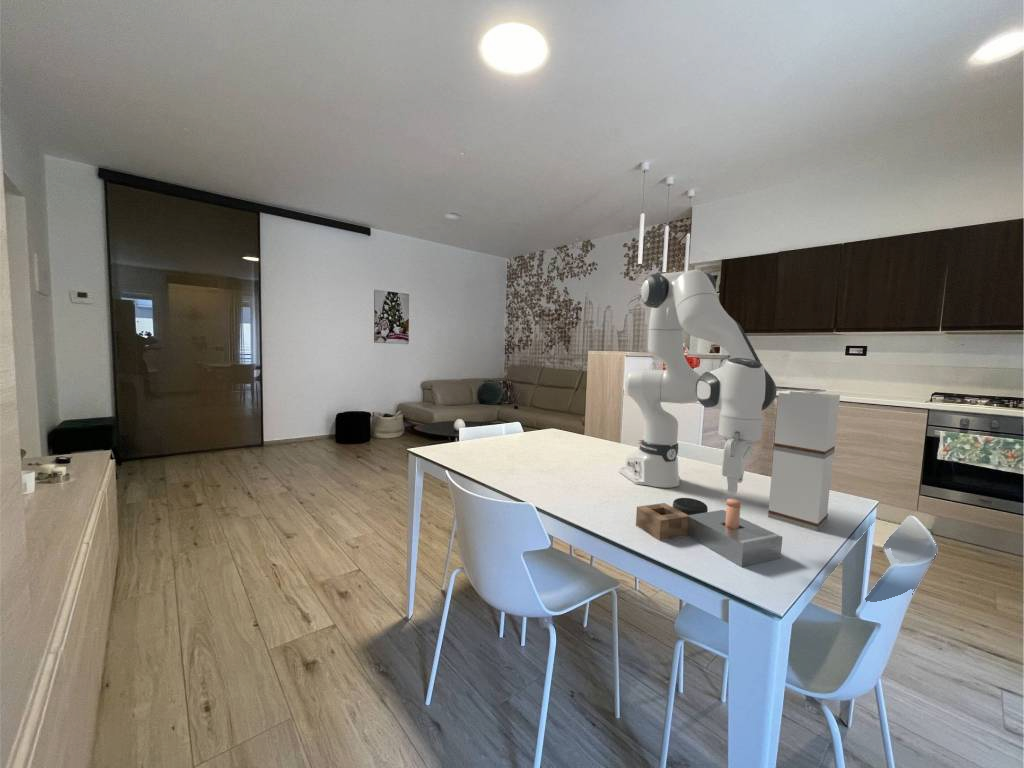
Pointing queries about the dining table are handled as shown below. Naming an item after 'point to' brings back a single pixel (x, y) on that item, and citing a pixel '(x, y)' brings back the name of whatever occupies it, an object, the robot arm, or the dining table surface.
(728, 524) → the pin
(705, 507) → the smart speaker
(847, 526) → the dining table surface
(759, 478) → the dining table surface
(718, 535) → the dock
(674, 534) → the mount
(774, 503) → the white tall box
